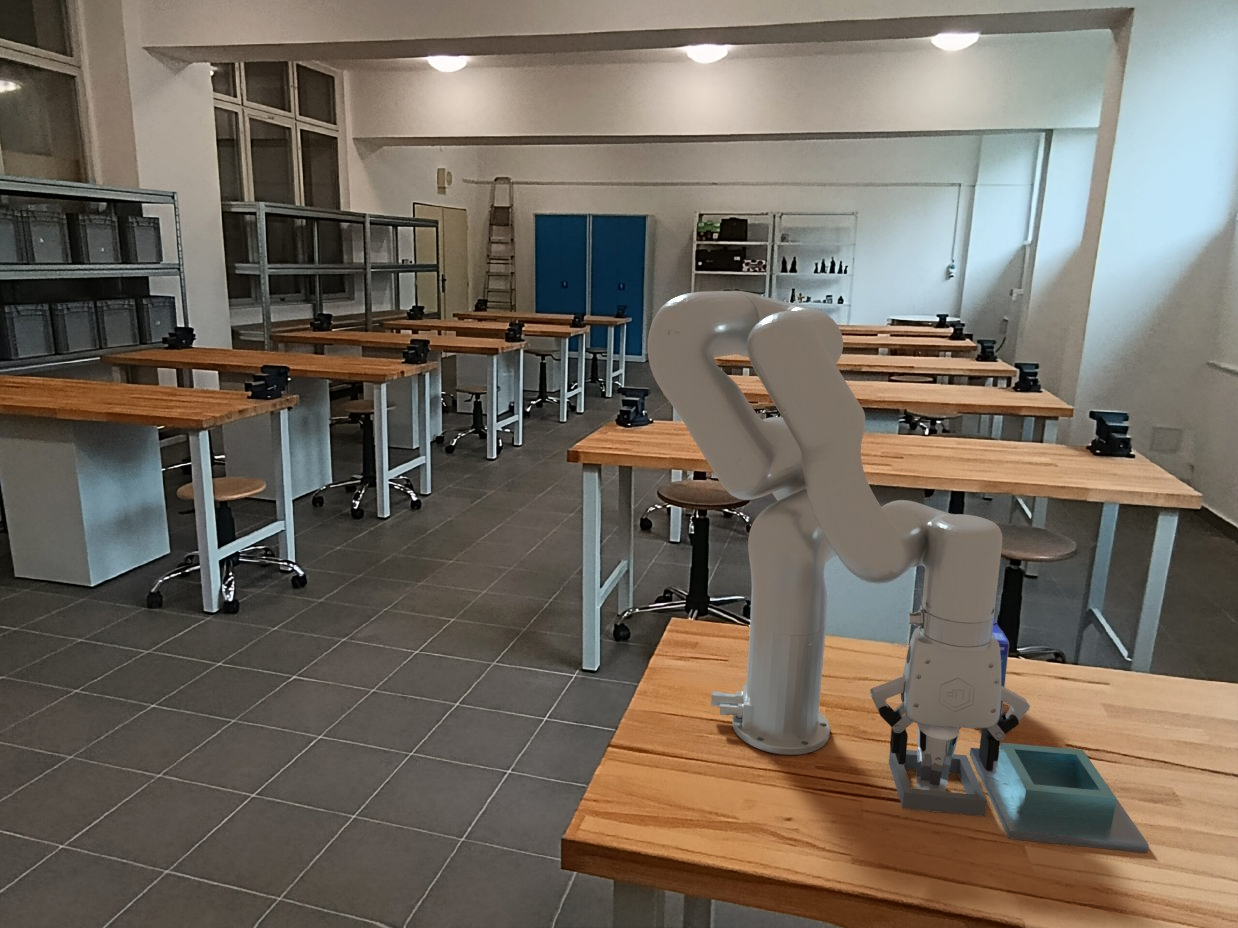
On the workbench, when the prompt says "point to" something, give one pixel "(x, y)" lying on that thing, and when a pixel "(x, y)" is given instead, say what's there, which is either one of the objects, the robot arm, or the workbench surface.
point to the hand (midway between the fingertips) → (942, 761)
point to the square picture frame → (939, 800)
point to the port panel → (1056, 799)
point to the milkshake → (935, 755)
